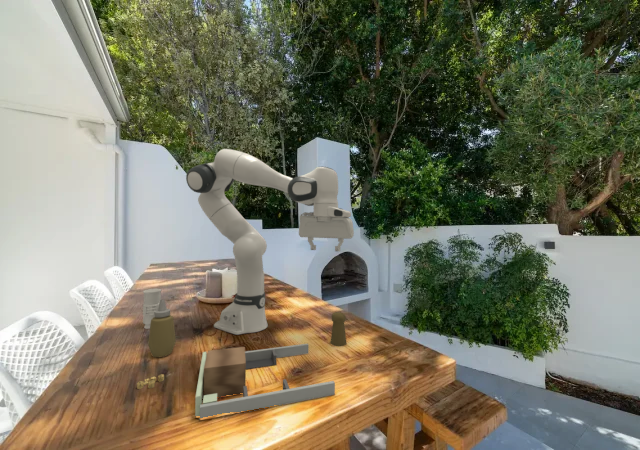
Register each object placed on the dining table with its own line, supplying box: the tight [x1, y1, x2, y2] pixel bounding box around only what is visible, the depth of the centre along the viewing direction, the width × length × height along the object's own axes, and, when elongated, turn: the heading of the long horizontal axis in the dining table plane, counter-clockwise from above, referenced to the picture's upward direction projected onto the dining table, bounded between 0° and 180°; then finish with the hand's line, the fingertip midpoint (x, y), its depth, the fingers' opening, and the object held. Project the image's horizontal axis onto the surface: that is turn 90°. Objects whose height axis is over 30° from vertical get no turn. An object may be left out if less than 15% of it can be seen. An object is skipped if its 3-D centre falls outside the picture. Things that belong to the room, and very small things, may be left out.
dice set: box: [136, 373, 165, 390], centre depth 77 cm, size 5×5×2 cm
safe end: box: [194, 351, 218, 417], centre depth 75 cm, size 4×23×5 cm, turn 19°
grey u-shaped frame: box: [199, 343, 336, 419], centre depth 79 cm, size 32×25×3 cm
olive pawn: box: [330, 311, 347, 347], centre depth 104 cm, size 6×6×11 cm
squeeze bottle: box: [147, 298, 177, 358], centre depth 94 cm, size 8×8×18 cm
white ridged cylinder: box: [142, 288, 163, 330], centre depth 119 cm, size 7×7×15 cm
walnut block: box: [203, 346, 247, 398], centre depth 76 cm, size 10×10×8 cm
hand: (325, 250), depth 102 cm, fingers open, 8 cm apart
